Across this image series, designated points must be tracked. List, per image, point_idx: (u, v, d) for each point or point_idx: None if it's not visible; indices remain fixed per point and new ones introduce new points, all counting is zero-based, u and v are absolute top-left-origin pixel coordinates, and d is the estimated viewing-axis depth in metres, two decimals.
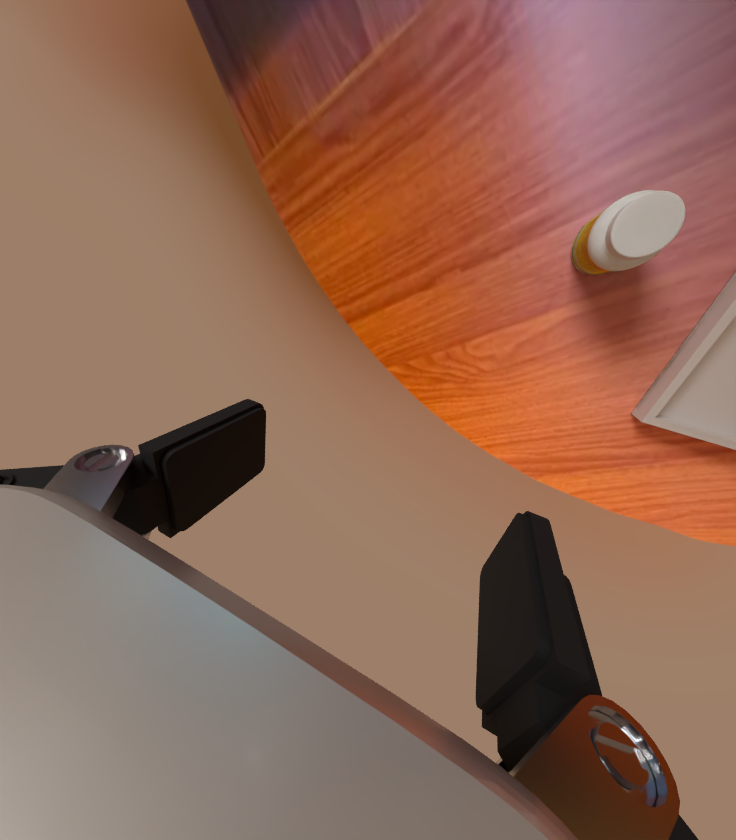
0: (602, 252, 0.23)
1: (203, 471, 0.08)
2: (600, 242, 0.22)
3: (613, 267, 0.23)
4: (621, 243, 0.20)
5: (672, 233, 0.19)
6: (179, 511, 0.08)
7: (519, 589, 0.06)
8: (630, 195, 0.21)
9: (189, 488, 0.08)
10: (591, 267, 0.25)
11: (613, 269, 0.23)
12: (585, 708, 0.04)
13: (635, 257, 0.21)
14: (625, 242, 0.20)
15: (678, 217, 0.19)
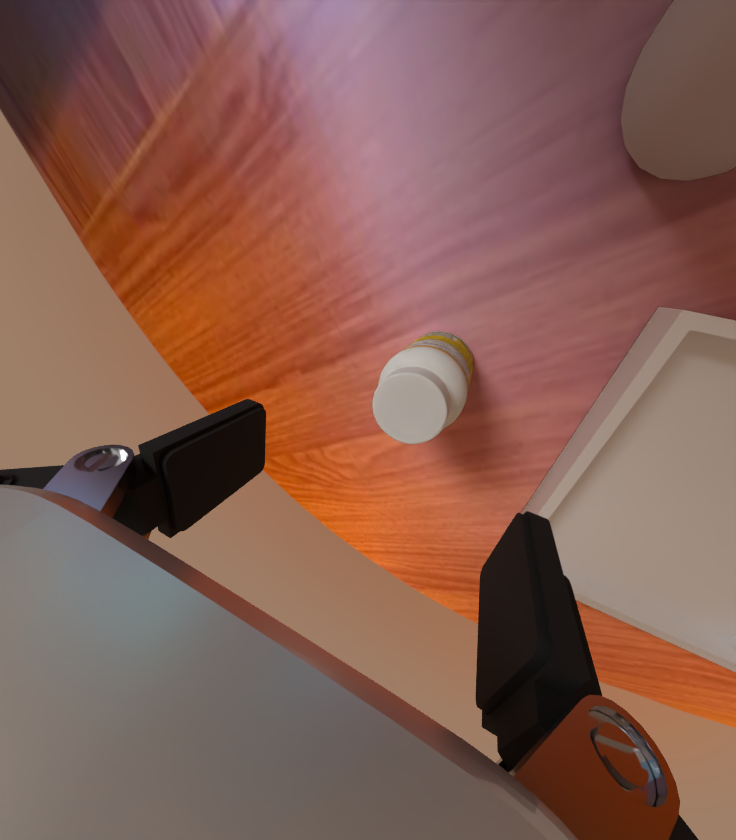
0: None
1: (203, 471, 0.08)
2: None
3: None
4: (386, 424, 0.15)
5: (437, 425, 0.14)
6: (179, 511, 0.08)
7: (519, 589, 0.06)
8: (406, 353, 0.16)
9: (189, 488, 0.08)
10: None
11: None
12: (585, 708, 0.04)
13: None
14: (390, 424, 0.15)
15: (439, 408, 0.14)
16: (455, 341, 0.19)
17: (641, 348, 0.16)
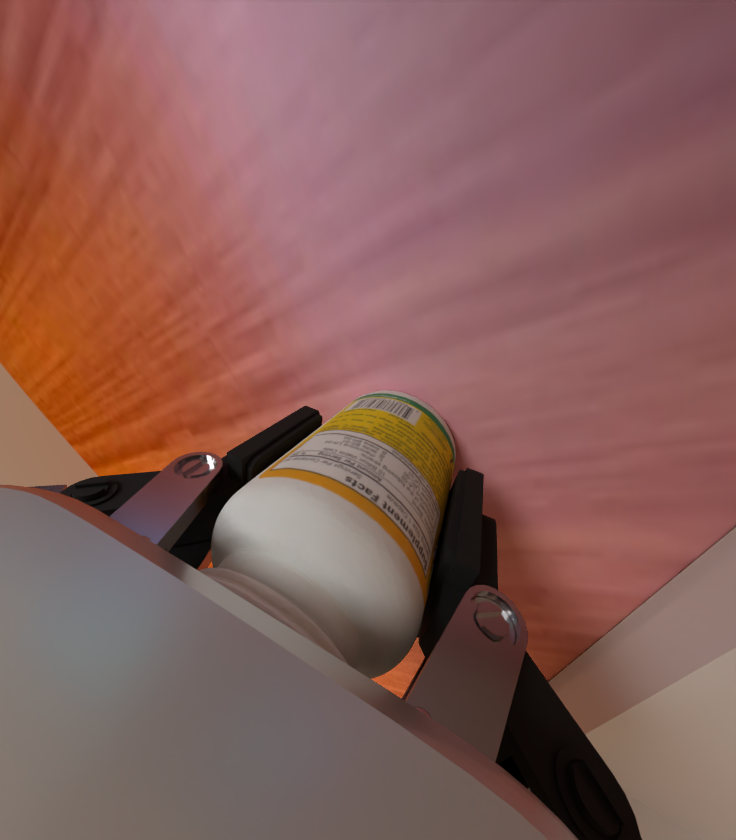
0: None
1: None
2: None
3: None
4: None
5: None
6: None
7: (447, 523, 0.08)
8: (250, 501, 0.06)
9: None
10: None
11: None
12: (472, 591, 0.06)
13: None
14: None
15: None
16: (413, 425, 0.09)
17: None
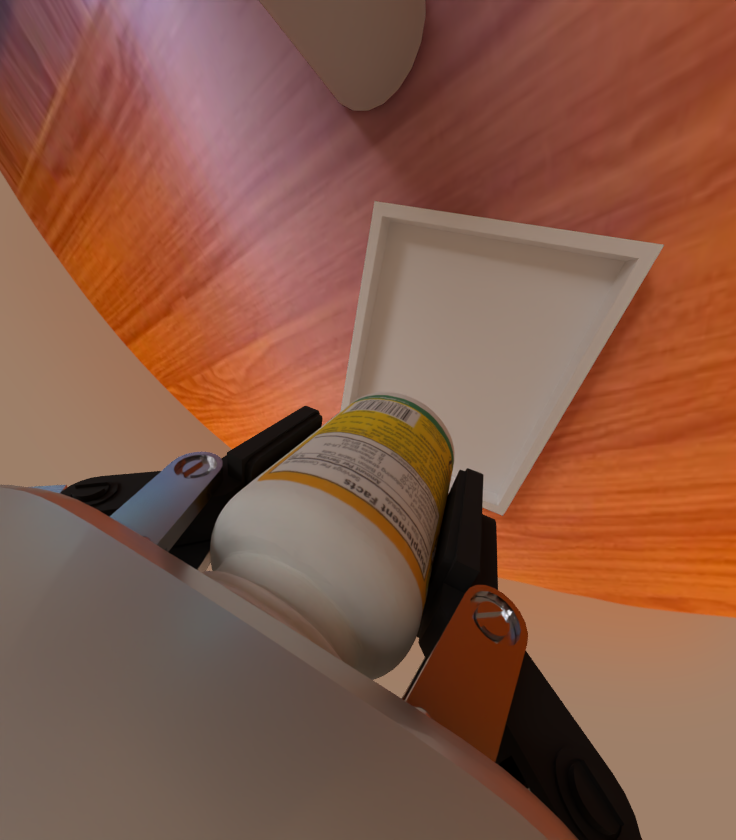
0: None
1: None
2: None
3: None
4: None
5: None
6: None
7: (447, 523, 0.08)
8: (249, 504, 0.06)
9: None
10: None
11: None
12: (472, 591, 0.06)
13: None
14: None
15: None
16: (412, 427, 0.09)
17: None
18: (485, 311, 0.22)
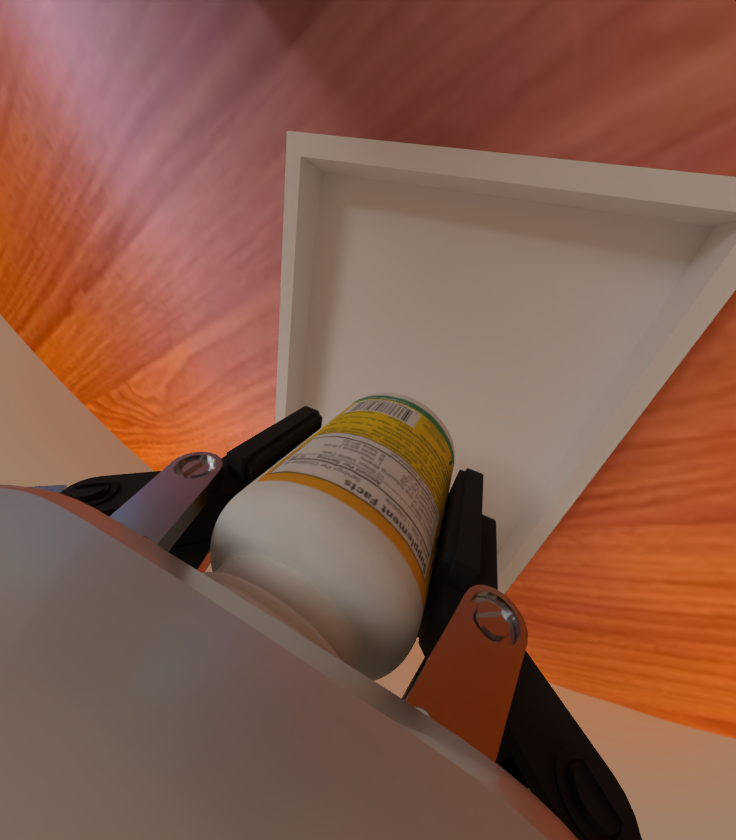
0: None
1: None
2: None
3: None
4: None
5: None
6: None
7: (447, 523, 0.08)
8: (249, 505, 0.06)
9: None
10: None
11: None
12: (472, 591, 0.06)
13: None
14: None
15: None
16: (412, 427, 0.09)
17: None
18: (469, 312, 0.14)
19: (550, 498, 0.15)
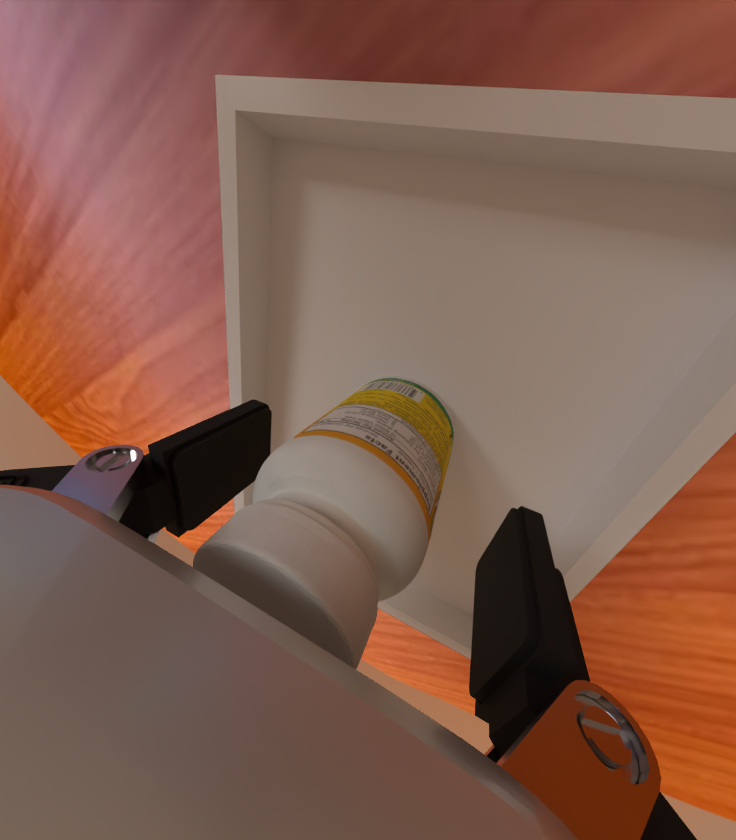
0: None
1: (211, 471, 0.08)
2: None
3: None
4: None
5: None
6: (187, 510, 0.08)
7: (512, 581, 0.06)
8: (290, 452, 0.07)
9: (197, 488, 0.08)
10: None
11: None
12: (572, 692, 0.04)
13: None
14: None
15: (331, 647, 0.05)
16: (418, 402, 0.10)
17: None
18: (464, 320, 0.11)
19: (568, 560, 0.11)
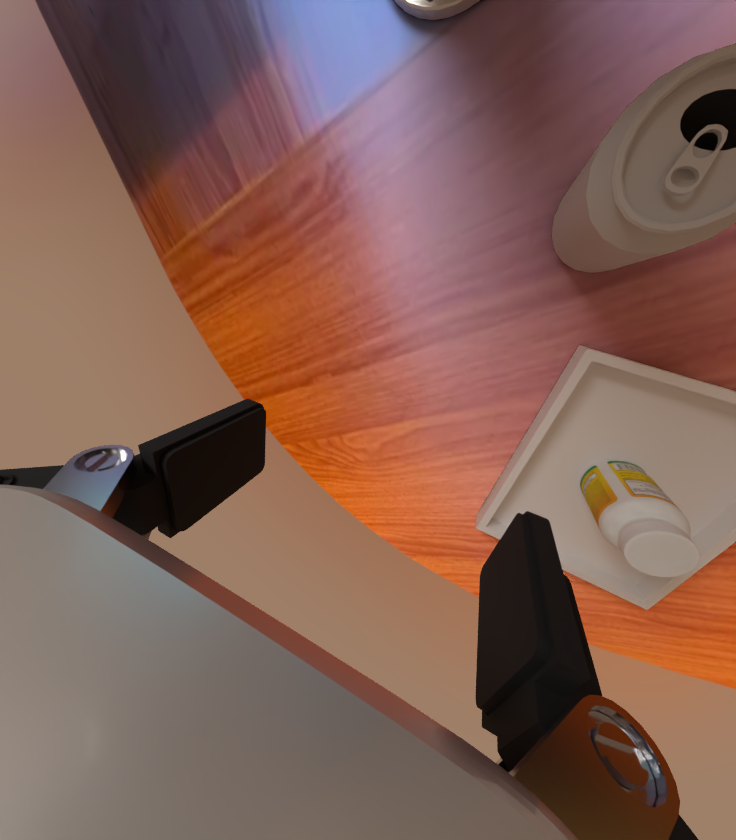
0: (613, 540, 0.22)
1: (203, 471, 0.08)
2: (612, 532, 0.22)
3: None
4: (634, 560, 0.20)
5: (686, 569, 0.19)
6: (179, 511, 0.08)
7: (519, 589, 0.06)
8: (644, 503, 0.21)
9: (189, 488, 0.08)
10: None
11: None
12: (585, 708, 0.04)
13: (647, 573, 0.20)
14: (638, 560, 0.20)
15: (693, 560, 0.19)
16: (650, 478, 0.24)
17: (568, 370, 0.25)
18: (665, 441, 0.25)
19: (703, 548, 0.25)
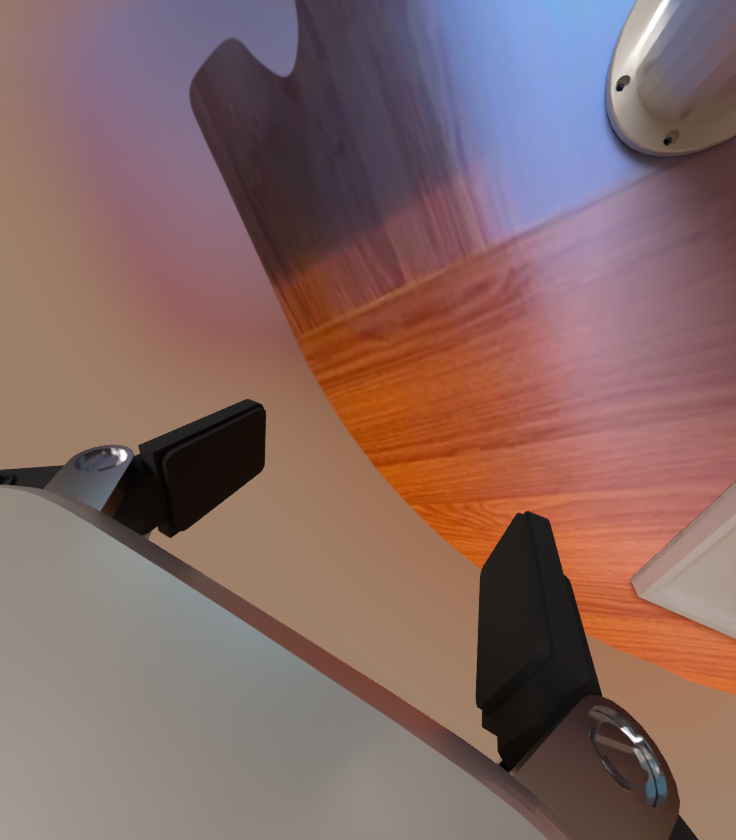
0: None
1: (203, 471, 0.08)
2: None
3: None
4: None
5: None
6: (179, 511, 0.08)
7: (519, 589, 0.06)
8: None
9: (189, 488, 0.08)
10: None
11: None
12: (585, 708, 0.04)
13: None
14: None
15: None
16: None
17: None
18: None
19: None
